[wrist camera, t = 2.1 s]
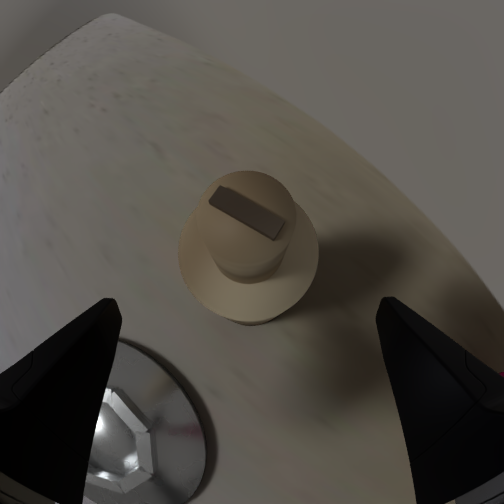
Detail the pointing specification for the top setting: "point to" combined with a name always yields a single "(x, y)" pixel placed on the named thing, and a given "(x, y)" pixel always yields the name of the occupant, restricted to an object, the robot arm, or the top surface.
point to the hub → (145, 436)
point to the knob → (248, 249)
